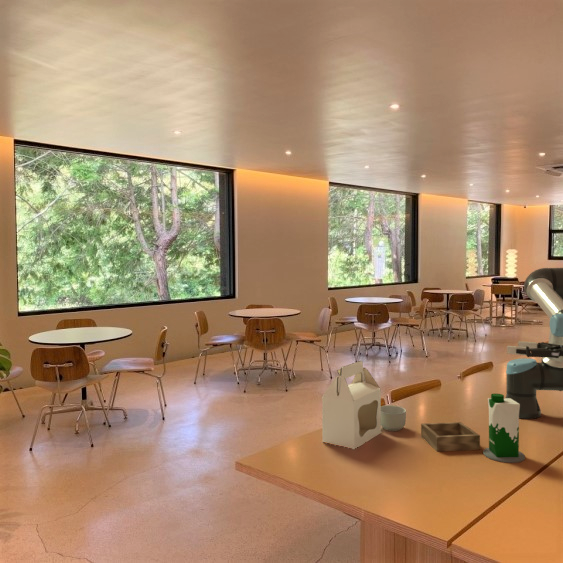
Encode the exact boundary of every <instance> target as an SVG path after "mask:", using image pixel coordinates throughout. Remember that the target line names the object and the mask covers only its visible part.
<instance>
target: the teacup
mask: <svg viewBox="0 0 563 563" xmlns="http://www.w3.org/2000/svg"><path fill="white" fill-rule="evenodd" d="M406 419H407V409H406V408H404V407H402V406H399V405H394V404H393V405H391V404H389V405H386V404H385V405H382V406H381V428H383V429H384V430H386V431H388V430H389V431H388V432H399V431H401V429H403V428H404V427H405V425H406Z"/></svg>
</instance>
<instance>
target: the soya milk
mask: <svg viewBox="0 0 563 563" xmlns="http://www.w3.org/2000/svg"><path fill="white" fill-rule="evenodd" d="M487 404H488V448H489V450H490V451H491V452H492V453H493V454H494V455H495V456H496V457H519V451H520V450H519V449H520V448H519V447H520V442H519V441H520V418H519V409H520V404H519V403H517V402H516V401H514V400H512V399H511V398H505V395H504V394H502V393H491V394H490V397H488V398H487Z"/></svg>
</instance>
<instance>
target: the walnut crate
mask: <svg viewBox="0 0 563 563" xmlns="http://www.w3.org/2000/svg"><path fill="white" fill-rule="evenodd" d="M420 426H421V428H420V432H421V433H420V435H421V436H420V437H421V438H422V439H423V438H424V439H425V440H426V441H427V442H428V443H427V442H426V441H425V440H424V439H423V440H424V441H425V442H426V443H427V444H428V445H429V446H431V447H432V448H433V449H434V450H435V451H436V452H452V451H453V452H454V451H456V452H457V451H458V452H459V451H474V450H476V449H477V450H478V449H480V450H481V447H480V446H481V434H479V433H477V432H476V431H474V430H473V429H471V428H470V427H469V426H467V425H466V424H465V423H463V422H462V421H457V422H456V421H455V422H453V421H452V422H430V423H425V422H424V423H421V424H420ZM477 450H476V451H477Z"/></svg>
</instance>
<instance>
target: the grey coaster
mask: <svg viewBox="0 0 563 563" xmlns="http://www.w3.org/2000/svg"><path fill="white" fill-rule="evenodd" d="M482 453H483V454H484V455H485V456H486V457H485V456H484V455H483V456H484V457H485V458H487V457H488V458H487V459H489V458H490V459H489V460H492V461H495V462H499V463H510V464H515V463H521V462H524V461H525V459H526V456H525V454H524V453H523V452H521V451H520V450H519V457H496V456H495V455H494V454H493V453H492V452H491V451H490V450H489V447H485V448H484V449H483V450H482Z"/></svg>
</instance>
